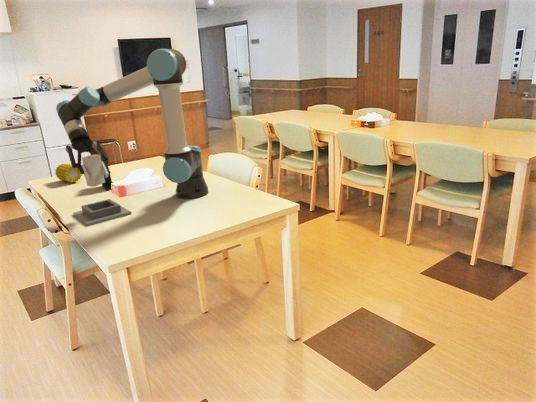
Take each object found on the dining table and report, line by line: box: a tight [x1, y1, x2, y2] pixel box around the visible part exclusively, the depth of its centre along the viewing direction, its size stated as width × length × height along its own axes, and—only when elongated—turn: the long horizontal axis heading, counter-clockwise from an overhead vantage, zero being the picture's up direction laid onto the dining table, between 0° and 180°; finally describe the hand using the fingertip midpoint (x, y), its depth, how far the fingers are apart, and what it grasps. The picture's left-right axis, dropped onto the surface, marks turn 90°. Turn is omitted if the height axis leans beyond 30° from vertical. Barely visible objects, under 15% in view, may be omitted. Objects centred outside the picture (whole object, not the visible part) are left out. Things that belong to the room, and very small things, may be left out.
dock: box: [72, 199, 132, 227], centre depth 174 cm, size 18×18×4 cm
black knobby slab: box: [101, 161, 114, 191], centre depth 212 cm, size 4×13×15 cm, turn 33°
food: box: [54, 163, 83, 183], centre depth 227 cm, size 15×12×10 cm
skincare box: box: [81, 154, 105, 187], centre depth 169 cm, size 6×4×12 cm
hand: (97, 177), depth 167 cm, fingers closed on skincare box, 7 cm apart
